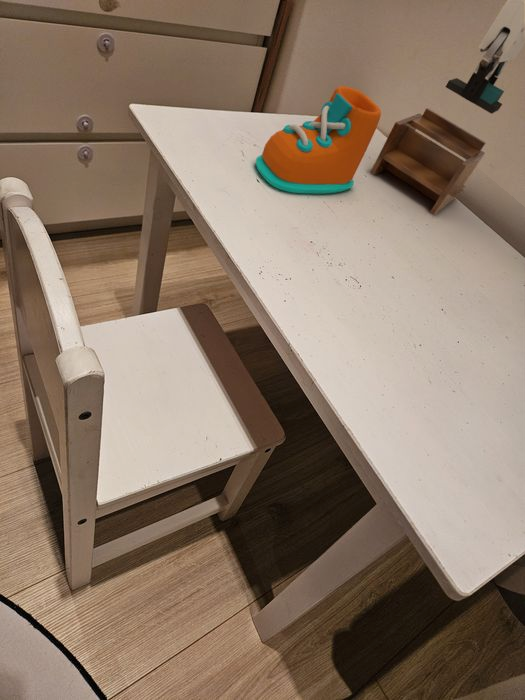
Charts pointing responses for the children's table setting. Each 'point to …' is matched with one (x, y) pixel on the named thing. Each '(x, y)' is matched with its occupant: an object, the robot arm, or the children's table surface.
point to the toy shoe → (322, 146)
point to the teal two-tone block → (487, 98)
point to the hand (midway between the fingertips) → (472, 96)
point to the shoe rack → (430, 156)
